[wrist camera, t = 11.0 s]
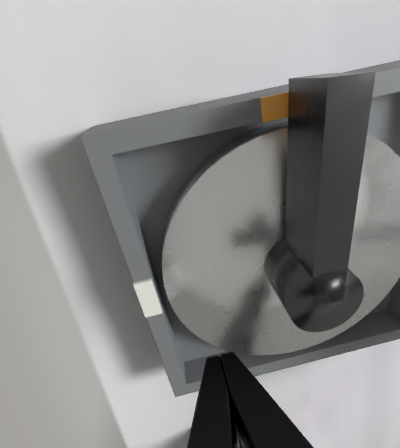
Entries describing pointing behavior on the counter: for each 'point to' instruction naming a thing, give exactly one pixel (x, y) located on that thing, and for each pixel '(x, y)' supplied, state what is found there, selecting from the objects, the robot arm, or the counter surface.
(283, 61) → the counter surface
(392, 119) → the dial base
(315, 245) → the dial
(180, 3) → the counter surface
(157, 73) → the counter surface
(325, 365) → the counter surface
